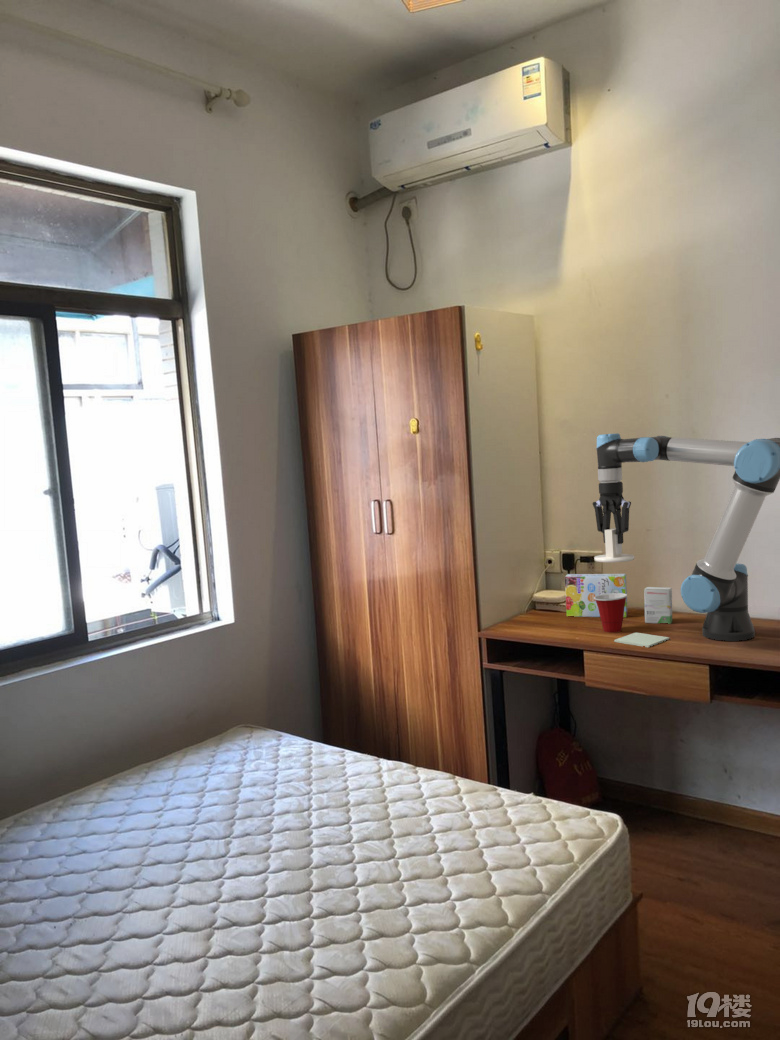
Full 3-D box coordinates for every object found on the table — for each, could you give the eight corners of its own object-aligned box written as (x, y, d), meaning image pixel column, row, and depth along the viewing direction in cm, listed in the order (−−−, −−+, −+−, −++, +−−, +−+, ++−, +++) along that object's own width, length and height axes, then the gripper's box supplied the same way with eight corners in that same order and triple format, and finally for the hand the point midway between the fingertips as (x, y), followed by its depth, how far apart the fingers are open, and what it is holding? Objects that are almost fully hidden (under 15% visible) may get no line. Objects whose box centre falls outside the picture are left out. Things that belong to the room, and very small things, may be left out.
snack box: (628, 614, 293) (626, 573, 291) (626, 618, 287) (625, 575, 286) (568, 613, 300) (566, 573, 299) (565, 617, 295) (564, 575, 294)
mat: (669, 639, 255) (669, 637, 255) (648, 647, 247) (648, 645, 247) (635, 634, 264) (635, 632, 264) (614, 641, 256) (614, 639, 256)
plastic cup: (600, 625, 278) (599, 591, 277) (632, 627, 272) (631, 592, 271) (590, 633, 269) (589, 597, 268) (623, 635, 263) (622, 598, 262)
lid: (642, 557, 265) (640, 527, 264) (619, 563, 257) (618, 532, 256) (609, 555, 275) (607, 526, 274) (586, 561, 267) (584, 530, 266)
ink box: (644, 623, 278) (643, 589, 277) (647, 619, 283) (646, 586, 282) (671, 624, 274) (669, 589, 273) (673, 620, 279) (672, 586, 278)
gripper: (638, 480, 260) (642, 553, 262) (596, 481, 272) (600, 550, 274) (624, 482, 255) (628, 556, 257) (583, 482, 267) (586, 553, 269)
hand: (614, 553), depth 266 cm, fingers closed on lid, 3 cm apart
